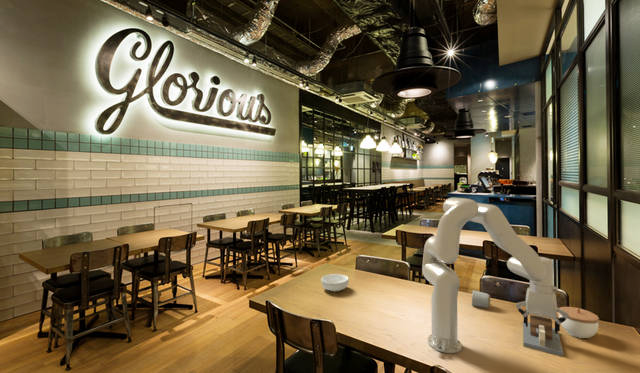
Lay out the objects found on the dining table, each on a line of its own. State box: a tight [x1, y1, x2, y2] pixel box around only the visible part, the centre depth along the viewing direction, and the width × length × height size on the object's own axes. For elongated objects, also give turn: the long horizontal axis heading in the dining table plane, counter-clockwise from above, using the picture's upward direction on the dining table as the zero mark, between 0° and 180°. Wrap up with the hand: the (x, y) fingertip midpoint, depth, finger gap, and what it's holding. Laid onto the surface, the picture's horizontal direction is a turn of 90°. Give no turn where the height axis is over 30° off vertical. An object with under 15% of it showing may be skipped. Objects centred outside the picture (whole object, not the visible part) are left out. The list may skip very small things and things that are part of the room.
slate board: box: [522, 321, 564, 357], centre depth 117 cm, size 20×12×2 cm, turn 145°
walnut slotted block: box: [529, 314, 553, 340], centre depth 116 cm, size 4×7×7 cm, turn 55°
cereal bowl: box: [320, 273, 349, 293], centre depth 173 cm, size 17×17×7 cm
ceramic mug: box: [471, 289, 491, 309], centre depth 149 cm, size 11×8×8 cm
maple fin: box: [536, 315, 545, 347], centre depth 116 cm, size 18×2×6 cm, turn 145°
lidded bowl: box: [558, 306, 600, 339], centre depth 120 cm, size 13×13×11 cm
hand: (541, 328), depth 116 cm, fingers open, 9 cm apart
